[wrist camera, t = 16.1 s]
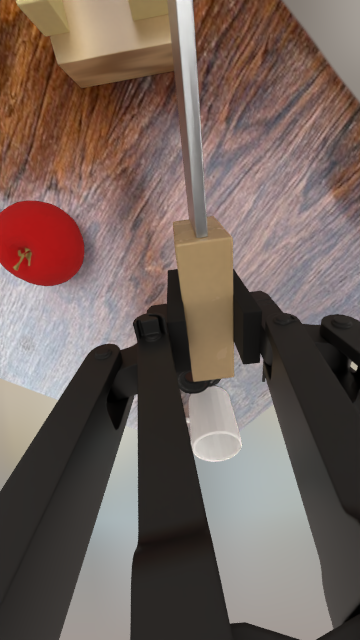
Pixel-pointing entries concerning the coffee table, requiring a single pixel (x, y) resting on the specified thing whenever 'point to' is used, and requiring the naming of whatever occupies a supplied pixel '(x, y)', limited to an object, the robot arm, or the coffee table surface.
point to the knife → (200, 223)
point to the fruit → (40, 243)
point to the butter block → (147, 8)
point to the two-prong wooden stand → (111, 43)
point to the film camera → (193, 383)
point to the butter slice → (46, 15)
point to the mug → (213, 425)
